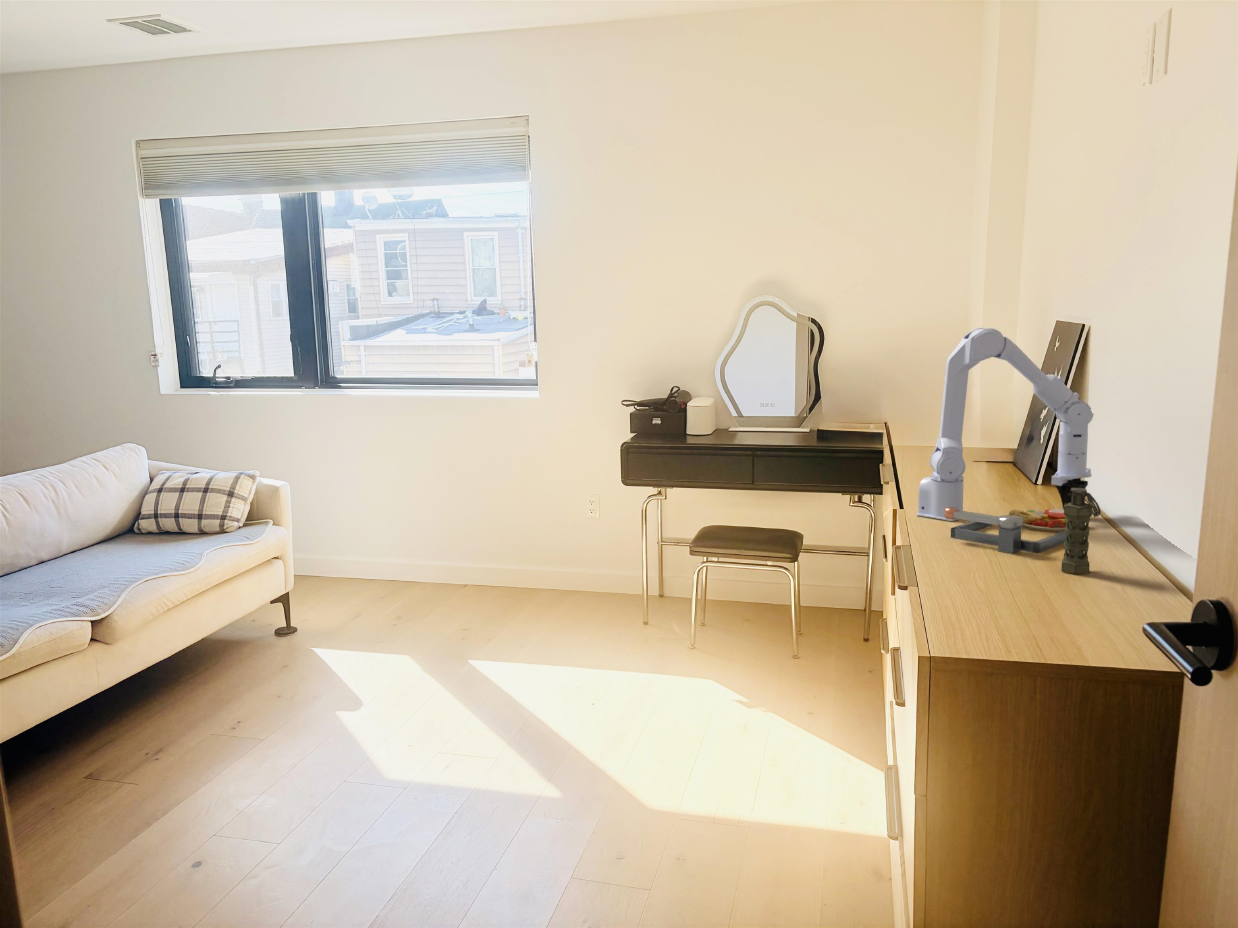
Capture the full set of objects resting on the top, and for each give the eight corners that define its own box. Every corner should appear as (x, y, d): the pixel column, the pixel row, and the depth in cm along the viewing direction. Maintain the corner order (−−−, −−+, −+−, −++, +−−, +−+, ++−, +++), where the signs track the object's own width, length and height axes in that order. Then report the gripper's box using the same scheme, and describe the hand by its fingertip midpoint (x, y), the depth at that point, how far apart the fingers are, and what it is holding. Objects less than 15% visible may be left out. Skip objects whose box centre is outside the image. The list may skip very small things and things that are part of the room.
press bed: (940, 540, 179) (941, 518, 179) (987, 525, 191) (988, 504, 190) (1028, 556, 165) (1028, 533, 164) (1073, 539, 176) (1074, 516, 175)
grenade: (1098, 578, 150) (1103, 494, 148) (1061, 575, 153) (1065, 492, 151) (1097, 565, 158) (1101, 485, 156) (1061, 562, 161) (1064, 483, 158)
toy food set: (1000, 524, 192) (1000, 510, 192) (1042, 516, 197) (1042, 503, 197) (1051, 536, 180) (1052, 521, 180) (1095, 528, 185) (1096, 513, 185)
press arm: (939, 518, 178) (939, 509, 178) (951, 515, 181) (951, 505, 181) (1015, 531, 166) (1015, 521, 165) (1026, 527, 168) (1027, 517, 168)
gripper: (1075, 458, 185) (1073, 520, 187) (1105, 450, 194) (1102, 509, 196) (1043, 455, 191) (1040, 515, 193) (1073, 448, 199) (1071, 505, 202)
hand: (1069, 512), depth 195 cm, fingers closed
